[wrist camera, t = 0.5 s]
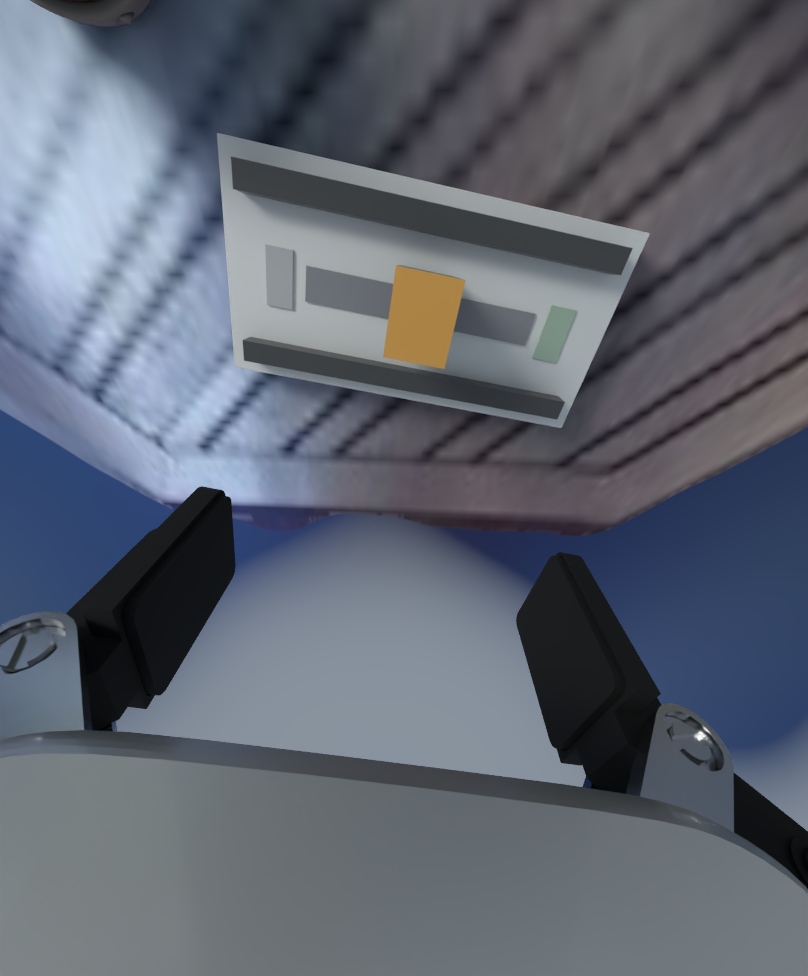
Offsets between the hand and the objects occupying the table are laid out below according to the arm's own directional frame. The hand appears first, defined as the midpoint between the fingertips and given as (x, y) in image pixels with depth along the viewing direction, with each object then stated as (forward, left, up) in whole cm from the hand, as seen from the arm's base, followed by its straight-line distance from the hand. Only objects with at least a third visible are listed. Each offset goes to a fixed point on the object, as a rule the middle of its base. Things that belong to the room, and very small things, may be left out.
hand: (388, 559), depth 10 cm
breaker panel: (-5, 0, -27) cm, 27 cm away
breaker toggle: (-5, 0, -23) cm, 24 cm away
